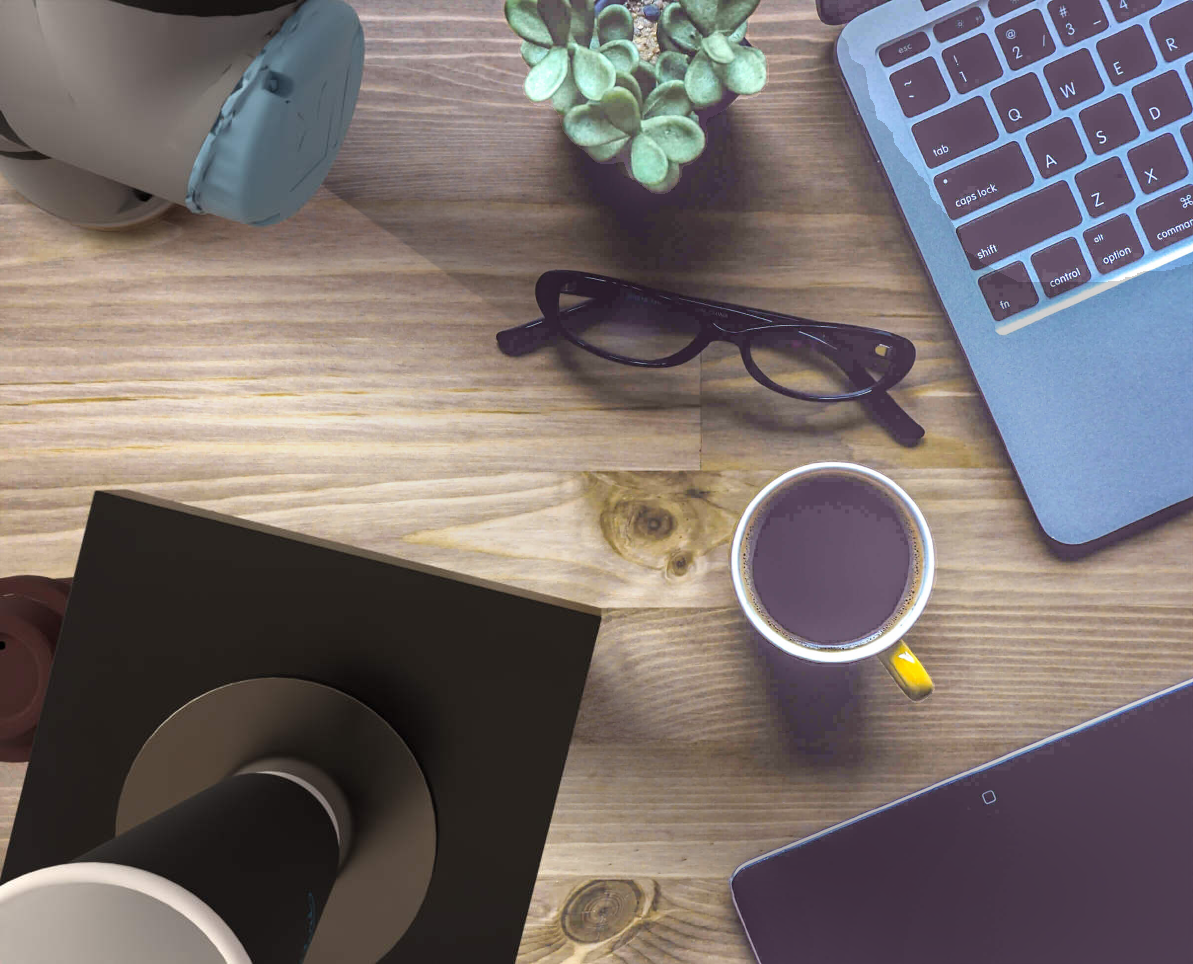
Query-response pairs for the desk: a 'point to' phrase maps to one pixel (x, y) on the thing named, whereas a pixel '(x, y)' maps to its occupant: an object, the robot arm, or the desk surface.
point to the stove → (313, 716)
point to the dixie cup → (187, 884)
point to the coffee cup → (27, 655)
